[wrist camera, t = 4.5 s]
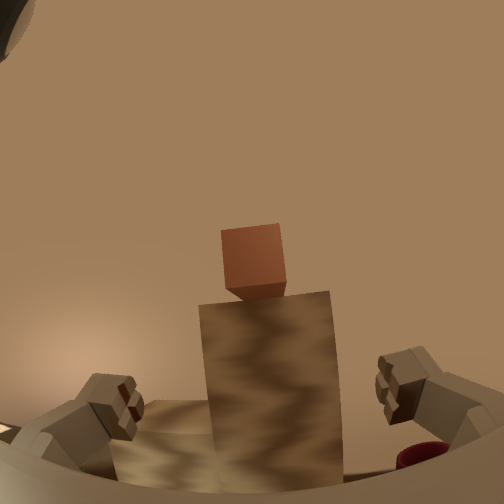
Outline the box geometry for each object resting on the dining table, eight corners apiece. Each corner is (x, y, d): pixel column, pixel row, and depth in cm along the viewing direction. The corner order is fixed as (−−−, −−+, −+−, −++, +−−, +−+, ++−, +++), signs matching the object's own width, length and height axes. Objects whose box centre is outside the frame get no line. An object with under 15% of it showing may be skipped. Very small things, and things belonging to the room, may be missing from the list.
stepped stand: (141, 546, 17) (91, 311, 23) (174, 499, 29) (146, 317, 35) (341, 549, 16) (329, 290, 22) (326, 495, 28) (311, 301, 34)
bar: (225, 288, 15) (220, 230, 16) (253, 307, 32) (251, 280, 33) (286, 281, 15) (279, 223, 15) (281, 304, 32) (278, 277, 33)
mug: (390, 491, 24) (392, 449, 26) (462, 472, 22) (467, 428, 24) (396, 520, 18) (402, 475, 20) (479, 495, 16) (489, 447, 17)
